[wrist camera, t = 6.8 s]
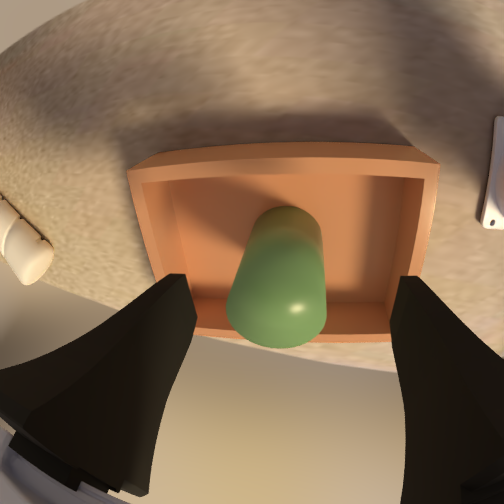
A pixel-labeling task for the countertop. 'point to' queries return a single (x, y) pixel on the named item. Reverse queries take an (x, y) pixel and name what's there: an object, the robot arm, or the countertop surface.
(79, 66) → the countertop surface
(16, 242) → the unicorn horn
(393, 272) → the terracotta bin
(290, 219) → the cucumber piece
